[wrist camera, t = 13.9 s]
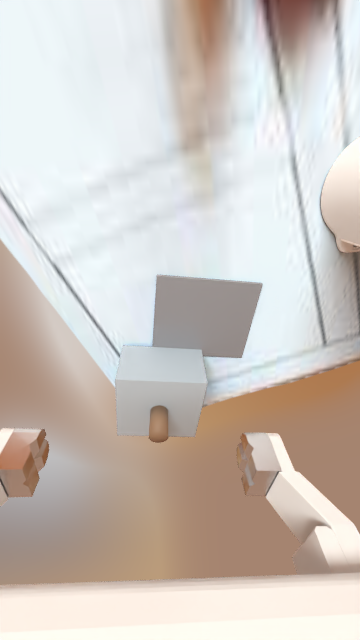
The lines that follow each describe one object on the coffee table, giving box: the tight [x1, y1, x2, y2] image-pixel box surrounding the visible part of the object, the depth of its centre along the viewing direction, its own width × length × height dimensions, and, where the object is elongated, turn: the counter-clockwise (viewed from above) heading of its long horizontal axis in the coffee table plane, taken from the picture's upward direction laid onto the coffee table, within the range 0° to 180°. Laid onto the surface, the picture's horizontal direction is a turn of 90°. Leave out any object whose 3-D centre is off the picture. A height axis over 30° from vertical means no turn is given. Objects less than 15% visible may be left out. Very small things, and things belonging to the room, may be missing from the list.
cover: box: [115, 345, 208, 442], centre depth 48 cm, size 15×15×14 cm
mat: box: [152, 275, 262, 358], centre depth 48 cm, size 18×16×1 cm
